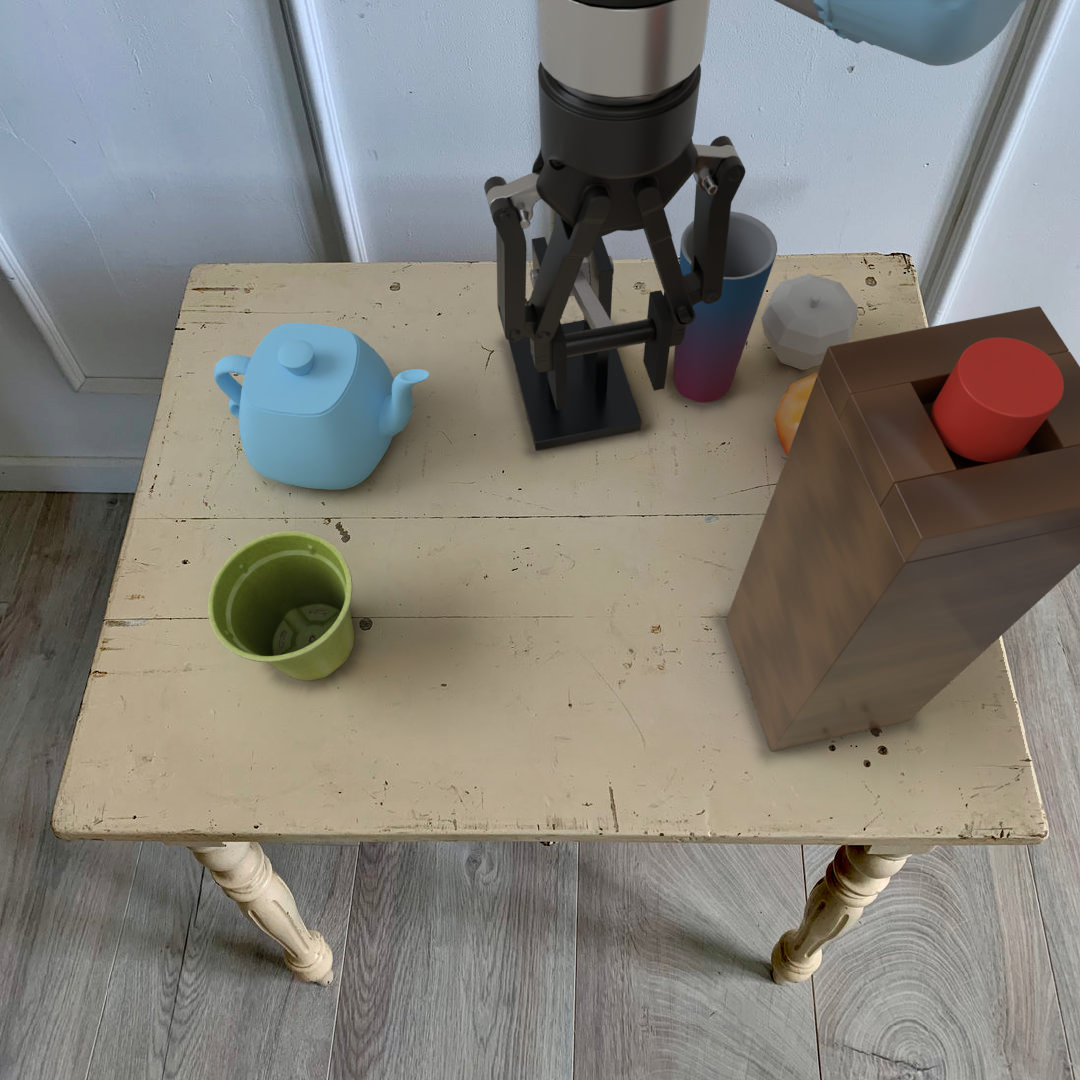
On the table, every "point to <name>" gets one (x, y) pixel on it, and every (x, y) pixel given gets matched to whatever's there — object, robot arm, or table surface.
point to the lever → (602, 322)
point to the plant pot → (285, 604)
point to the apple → (808, 319)
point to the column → (899, 537)
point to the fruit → (792, 410)
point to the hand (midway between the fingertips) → (605, 383)
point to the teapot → (316, 405)
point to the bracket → (577, 375)
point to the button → (996, 399)
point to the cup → (724, 310)
